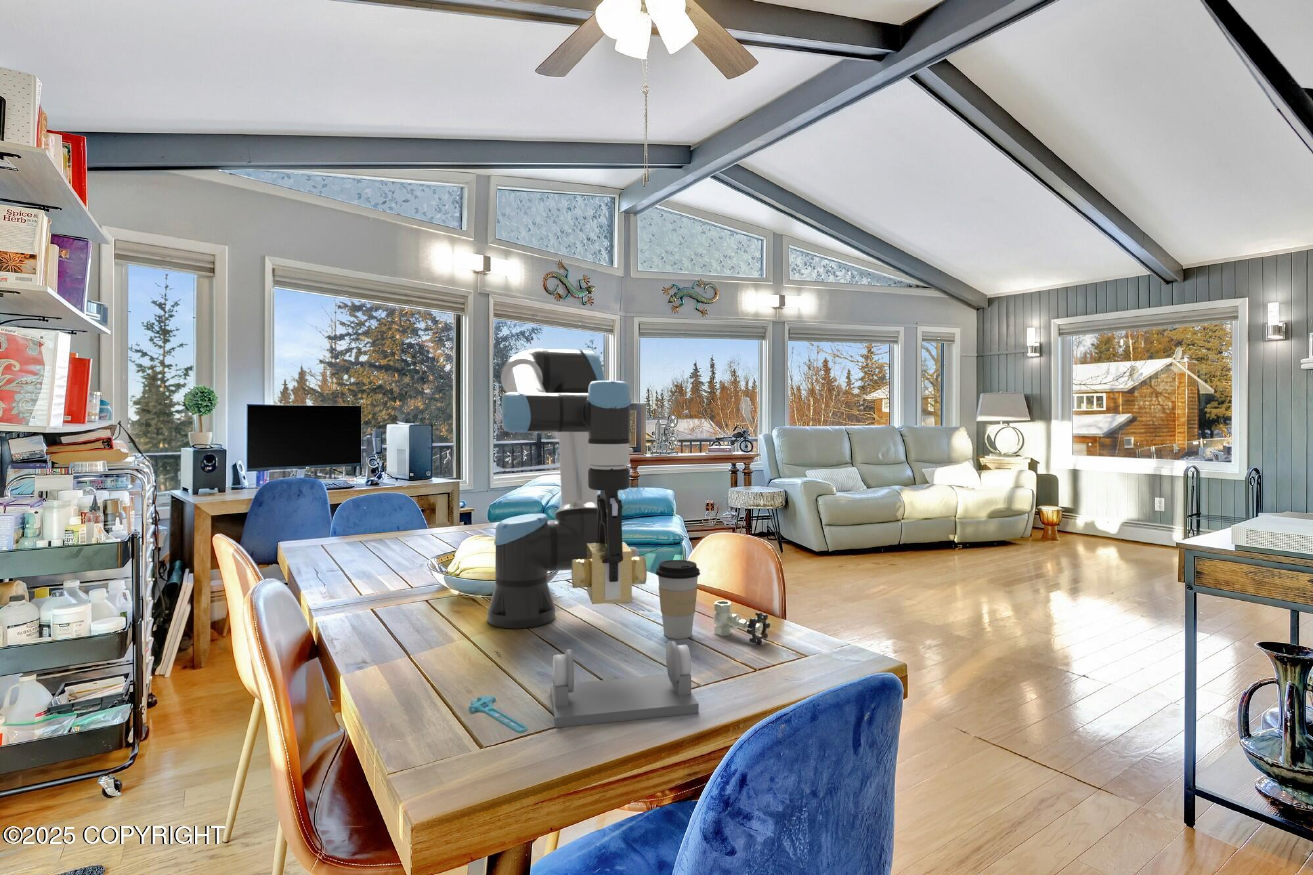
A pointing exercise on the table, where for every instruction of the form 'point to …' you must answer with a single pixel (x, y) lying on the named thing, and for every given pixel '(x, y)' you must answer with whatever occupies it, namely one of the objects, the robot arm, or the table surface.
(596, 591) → the brass gate valve
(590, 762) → the table surface
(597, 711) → the pipe run plate
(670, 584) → the coffee cup
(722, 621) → the valve
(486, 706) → the adjustable wrench
